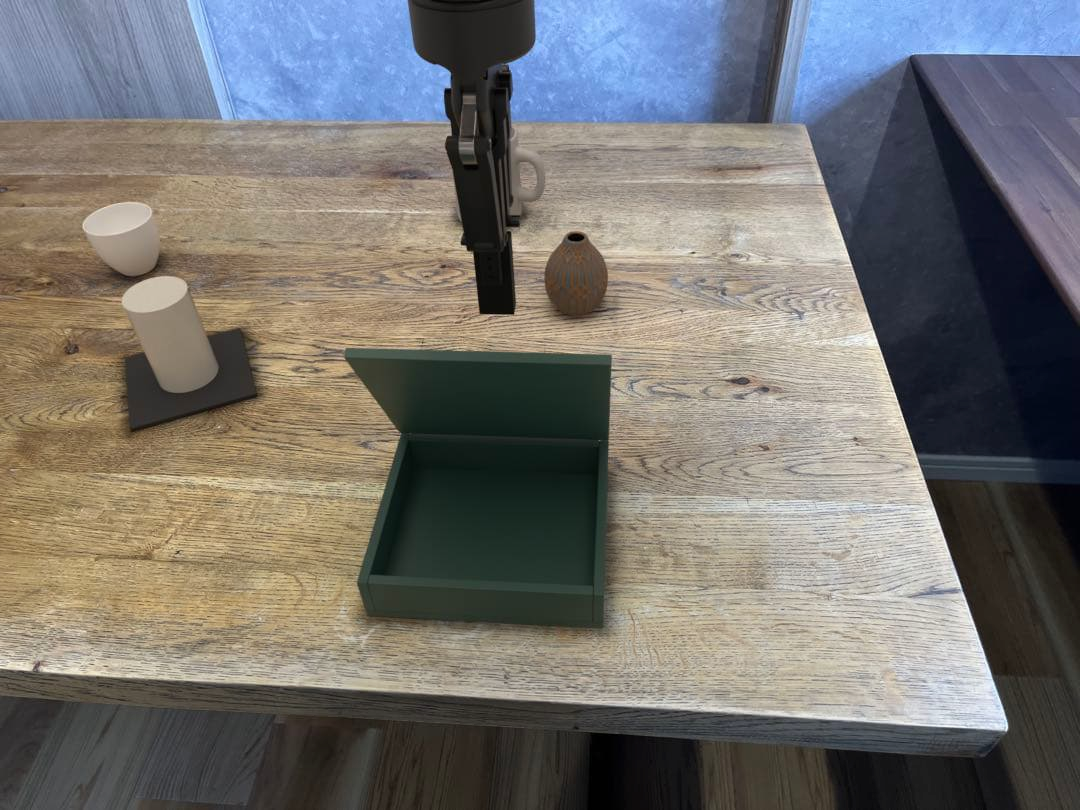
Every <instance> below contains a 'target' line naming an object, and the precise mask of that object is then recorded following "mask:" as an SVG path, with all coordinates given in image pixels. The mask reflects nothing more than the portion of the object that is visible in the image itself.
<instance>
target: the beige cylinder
mask: <svg viewBox="0 0 1080 810" xmlns="http://www.w3.org/2000/svg"><path fill="white" fill-rule="evenodd" d="M121 306H122V308H123V310H124V312H125V314H126V316H127V318H128V320H129V323H130V325H131V327H132V329H133V332H134V334H135V336H136V338H137V340H138V342H139V344H140V347H141V349H142V351H143V353H145V355H146V357H147V360H148V362H149V364H150V366H151V368H152V370H153V373H154V375H155V377H156V379H157V381H158V383H159V385H160V387H161V388H162V389H164V390H165V391H168V392H172V393H185V392H190V391H194V390H197V389H199V388H201V387H203V386H205V385H207V384H208V383H209V382H211V381H212V380H213V379H214V378H215V376H216V375H217V373H218V369H219V365H218V362H217V360H216V357H215V355H214V352H213V350H212V347H211V344H210V342H209V339H208V337H207V336H208V333H207V331H206V329H205V327H204V324H203V321H202V319H201V317H200V314H199V311H198V309H197V307H196V303H195V301H194V298H193V295H192V293H191V290H190V288H189V286H188V284H187V282H186V281H185V280H184V279H183V278H180V277H178V276H173V275H172V276H171V275H161V276H155V277H150V278H147V279H144V280H142V281H139V282H137V283H135V284H134V285H132V286H130V288H128V289H126V291H125V292H124V293H123V295H122V297H121Z"/></svg>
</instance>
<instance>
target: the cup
mask: <svg viewBox="0 0 1080 810" xmlns="http://www.w3.org/2000/svg"><path fill="white" fill-rule="evenodd" d="M81 226H82V230H83V233H84V235H85V236H86V239H87V240H88V242H89V244H90V246H91V248H92V249H93V251H94V252H95V254H96V255H97V256H98V257H99V259H100V260H102V261H103V262H104V263H105V264H106V265H107V266H109V267H110V268H112V269H113V270H114V271H116V272H118V273H119V274H121V275H123V276H125V277H137V276H138V277H139V276H142V275H145V274H147V273H150V272H151V271H152V270H153V269H154V268H155V267H156V266H157V262H158V260H159V256H160V251H161V234H160V229H159V226H158V222H157V220H156V217H155V214H154V211H153V209H152V208H151V207H150V206H149V205H148V204H146V203H143V202H138V201H125V202H124V201H123V202H117V203H114V204H113V203H112V204H109V205H107V206H104V207H101V208H99V209H97V210H95V211H94V212H92V213H90V214H89V215H88V216H87V217H86V218H85V219H84V220H83V222H82V225H81Z"/></svg>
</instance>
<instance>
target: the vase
mask: <svg viewBox="0 0 1080 810" xmlns="http://www.w3.org/2000/svg"><path fill="white" fill-rule="evenodd" d="M543 276H544V277H543V279H544V288H545V293H546V296H547V297H548V300H549V301H550V303H551V304H552V305H553V306H554V308H556V309H557V310H558V311H560V312H561V313H563V314H565V315H568V316H573V317H579V316H583V315H587V314H589V313H591V312H593V311H594V310H595V309H597V308H598V307H599V306H600V305H601V303H602V301H603V300H604V298H605V296H606V293H607V289H608V283H609V272H608V267H607V263H606V260H605V258H604V256H603V255H602V253H601V252H600V251H599V250H598V248H597V247H596V246H595V245H594V244H593V243H592V242H591V240H590V239H589V236H588V235H587V234H586V233H585V232H583V231H581V230H580V231H579V230H573V231H569V232H567V233H566V234H565V235H564V237H563V239H562V240H561V242H560V243H559V245H557V247H556V248H555V249H554V250H553V252H551V254H550V255H549V258H548V259H547V261H546V265H545V270H544V275H543Z"/></svg>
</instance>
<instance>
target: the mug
mask: <svg viewBox="0 0 1080 810" xmlns="http://www.w3.org/2000/svg"><path fill="white" fill-rule="evenodd" d="M511 126H512V127H511V132H510V142H511V174H512V195H513V196H514V202H513V205H512V207H510V215H520V217H521V216H522V213H523V202H525V203H526V202H527V203H531V202H537V201H538V200H539V199H540V198H542V196H543V194H544V192H545V188H546V171H545V170H546V169H545V165H544V161H543V159H542V158H541V156H540V155H539V154H538V153H537V152H536V151H534V150H530V149H528V148H523V147H520V146H519V145H520V144H519V134H518V130H517V128H516V127H515V126H514V125H513V124H511ZM448 136H452V132H451V131H450V132H449V135H448ZM521 163H527V164H530V165H532V166H533V168H534V170H535V173H536V185H535V188H533V189H528V188H525V187H523V186H522V180H521V172H520V171H521V170H520V164H521ZM452 178H453V186H454V196H455V208H456V215H457V219H458V221H459V222H460V223H462V220H461V215H460V209H459V204H458V198H457V192H456V187H455V181H454V176H453V175H452Z"/></svg>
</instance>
